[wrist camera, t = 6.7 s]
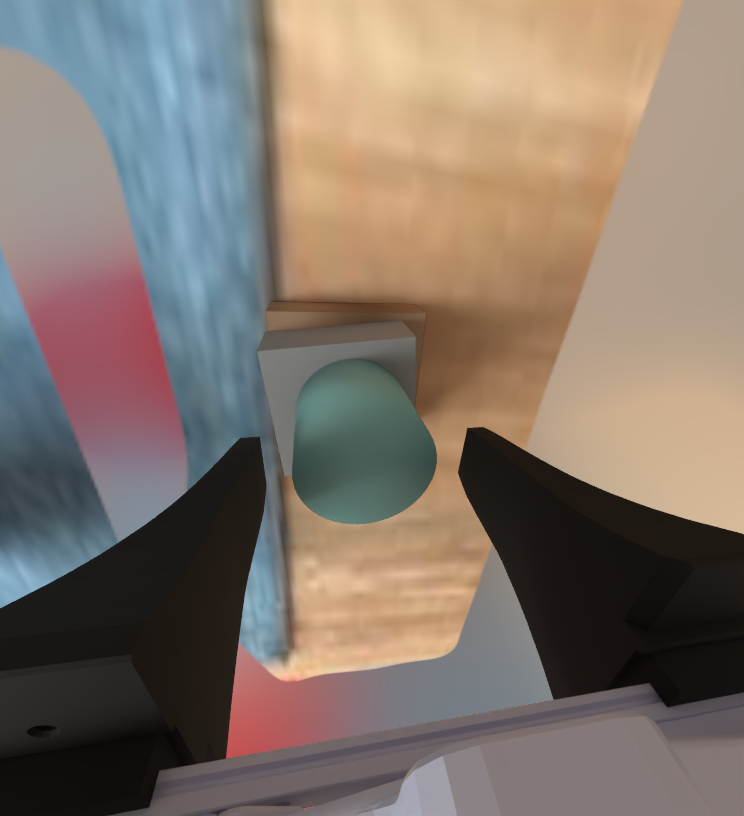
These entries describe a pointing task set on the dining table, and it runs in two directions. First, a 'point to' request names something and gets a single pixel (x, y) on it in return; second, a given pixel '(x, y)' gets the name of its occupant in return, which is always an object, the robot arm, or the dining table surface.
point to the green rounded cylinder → (359, 444)
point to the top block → (317, 347)
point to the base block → (346, 318)
